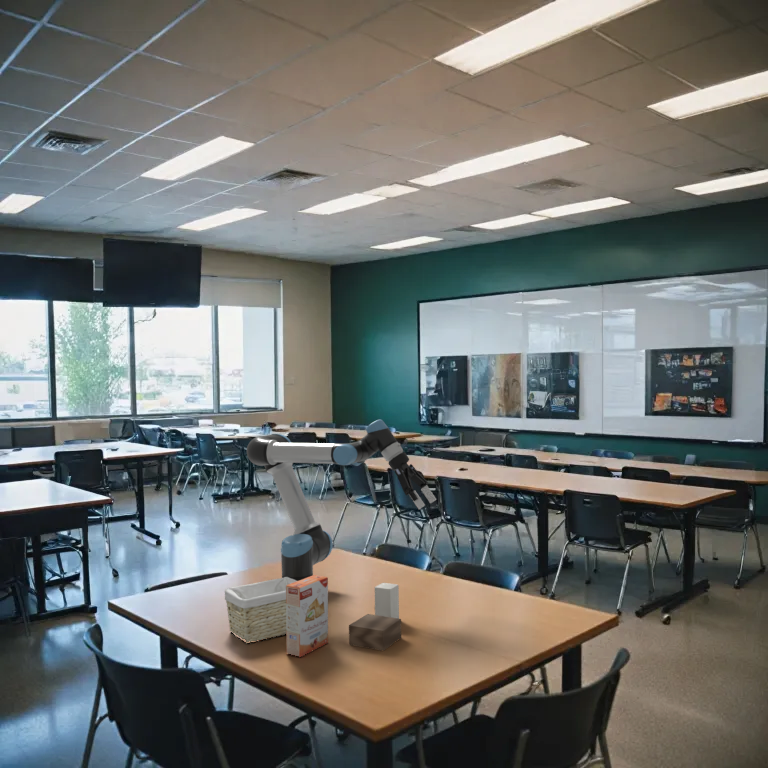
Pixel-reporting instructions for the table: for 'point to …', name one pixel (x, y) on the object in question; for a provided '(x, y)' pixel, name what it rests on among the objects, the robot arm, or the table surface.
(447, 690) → the table surface
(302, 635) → the cracker box
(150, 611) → the table surface
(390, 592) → the white block
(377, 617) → the walnut block
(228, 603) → the storage basket
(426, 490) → the robot arm
